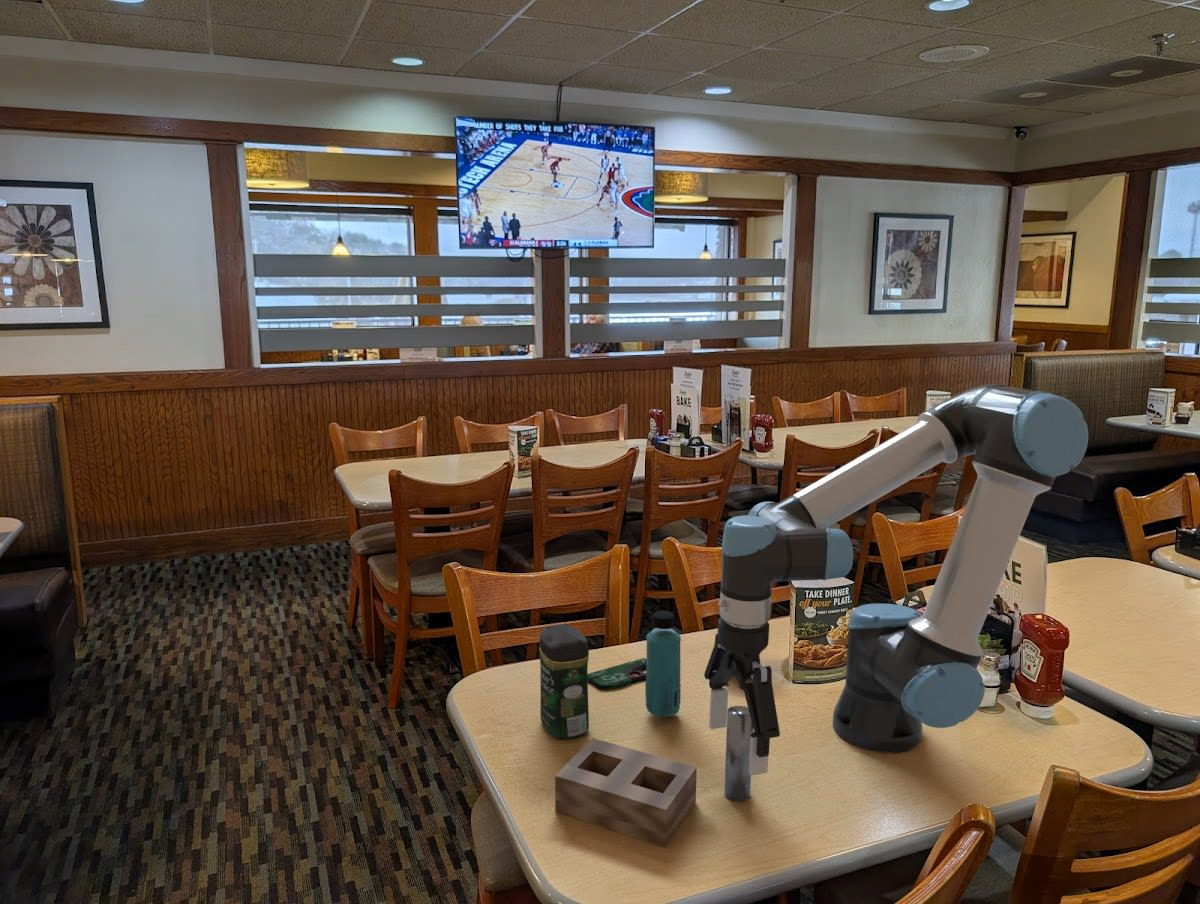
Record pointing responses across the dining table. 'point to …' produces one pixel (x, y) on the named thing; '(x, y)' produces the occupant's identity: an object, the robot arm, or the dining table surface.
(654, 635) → the beverage bottle
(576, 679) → the coffee jar
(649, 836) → the peg block
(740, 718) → the steel peg
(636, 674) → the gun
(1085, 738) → the dining table surface
